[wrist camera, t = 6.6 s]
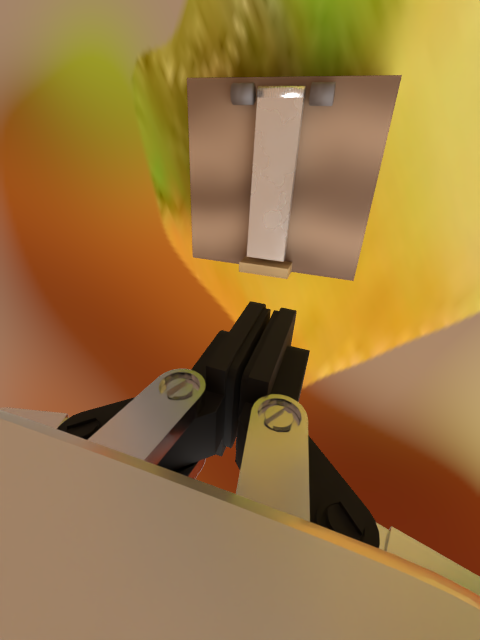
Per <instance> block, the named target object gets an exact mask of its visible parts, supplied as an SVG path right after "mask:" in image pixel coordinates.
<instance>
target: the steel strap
mask: <svg viewBox="0 0 480 640" xmlns="http://www.w3.org/2000/svg"><path fill="white" fill-rule="evenodd" d="M305 94H306V86H258V90H257V109H256V124H255V139H254V154H253V169H252V184H251V199H250V214H249V229H248V244H247V257H253V258H260V259H267V260H275V261H282V262H284V260H285V254H286V246H287V238H288V230H289V222H290V214H291V206H292V197H293V189H294V181H295V173H296V165H297V157H298V149H299V141H300V132H301V124H302V116H303V108H304V100H305Z"/></svg>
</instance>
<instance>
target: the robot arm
mask: <svg viewBox="0 0 480 640" xmlns="http://www.w3.org/2000/svg"><path fill="white" fill-rule="evenodd" d="M295 318H296V310H291V309H286V308H281V309H280V311H276V310H274V312H273V314H272V316H271V318H270V309H266V305H265V304H261V303H256V302H251V301H250V302H249V304H248V305H247V307H246V308H245V310H244V311H243V313H242V314H241V316H240V317H239V318H238V320H237V321H236V323H235V324H234V326H233V327H232V329H231V330H230V332H227V331H223V330H222V331H220V332H219V333H218V334H217V336H216V337H215V338H214V340H213V341H212V342H211V344H210V345H209V346H208V348H207V349H206V350H205V352H204V353H203V355H202V356H201V357H200V359H199V360H198V361H197V363H196V364H195V365H194V367H193V368H192V369H191V370H189V369H176V370H171V371H168V372H166V373H164V374H162V375H161V376H159V377H158V378H157V379H156V380H155V381H154V382H153V383H151V384H150V385H149V386H148V387H147V388H146V389H145V390H143V391H142V392H141V393H140V394H139V395H138V396H137V397H135V398H131V399H127V400H124V401H121V402H117V403H113V404H109V405H106V406H103V407H99V408H95V409H92V410H88V411H84V412H81V413H79V414H76V415H73V416H72V417H70V418H69V417H68V414H65V413H55V412H46V411H36V410H26V409H16V408H0V640H480V577H479V576H477V575H475V574H473V573H472V572H470V571H468V570H467V569H465V568H463V567H461V566H460V565H458V564H456V563H455V562H453V561H451V560H449V559H448V558H446V557H444V556H442V555H441V554H439V553H437V552H435V551H434V550H432V549H430V548H428V547H427V546H425V545H423V544H421V543H420V542H418V541H416V540H414V539H413V538H411V537H409V536H407V535H405V534H404V533H402V532H401V531H399V530H397V529H395V528H393V527H391V528H390V530H387V529H386V528H384V527H382V526H381V525H379V524H377V523H376V521H375V520H374V518H373V516H372V515H371V513H370V512H369V510H368V509H367V508H366V506H365V505H364V504H363V503H362V501H361V500H360V499H359V498H358V496H357V495H356V494H355V493H354V491H353V490H352V489H351V488H350V486H349V485H348V484H347V483H346V481H345V480H344V479H343V478H342V477H341V475H340V474H339V473H338V471H337V470H336V469H335V468H334V467H333V465H332V464H331V463H330V462H329V461H328V459H327V458H326V457H325V455H324V454H323V453H322V452H321V450H320V449H319V448H318V447H317V445H316V444H315V443H314V442H313V441H312V439H311V438H310V437H309V435H308V418H307V413H306V411H305V410H304V408H303V406H302V405H300V403H298V401H299V397H300V393H301V389H302V384H303V380H304V375H305V370H306V366H307V361H308V356H309V352H310V351H309V350H305V349H300V348H296V347H292V346H291V341H292V335H293V330H294V324H295ZM236 437H237V439H236ZM235 439H236V460H235V462H236V463H237V465H238V467H239V469H240V475H239V480H238V486H237V491H236V494H234V493H231V492H228V491H226V490H223V489H220V488H217V487H215V486H212V485H209V484H206V483H204V482H201V481H198V480H195V478H196V477H197V475H198V474H199V472H200V471H201V469H202V468H203V465H204V463H205V458H208V457H210V456H213V455H215V454H217V455H219V456H222V455H223V452H224V450H225V448H226V446H227V447H230V448H231V447H232V446H233V444H234V441H235Z"/></svg>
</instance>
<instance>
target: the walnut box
mask: <svg viewBox="0 0 480 640" xmlns="http://www.w3.org/2000/svg"><path fill="white" fill-rule="evenodd" d="M401 76H402V75H387V76H307V77H227V78H187V92H188V122H189V153H190V183H191V214H192V244H193V257H195V258H202V259H209V260H216V261H222V262H229V263H236V264H239V272H245V273H252V274H258V275H265V276H271V277H278V278H285V279H287V278H288V276H289V275H290V273H291V272H297V273H304V274H311V275H318V276H324V277H331V278H338V279H345V280H352V281H353V280H354V276H355V272H356V268H357V263H358V259H359V255H360V251H361V246H362V242H363V238H364V234H365V229H366V225H367V221H368V217H369V212H370V208H371V204H372V200H373V195H374V191H375V187H376V183H377V178H378V174H379V170H380V166H381V161H382V157H383V153H384V149H385V144H386V140H387V136H388V132H389V127H390V123H391V119H392V115H393V110H394V106H395V102H396V98H397V93H398V89H399V85H400V81H401ZM258 86H306V94H305V100H304V108H303V116H302V124H301V132H300V141H299V149H298V157H297V165H296V173H295V181H294V189H293V197H292V206H291V214H290V222H289V230H288V238H287V246H286V254H285V260H284V262H282V261H275V260H267V259H260V258H253V257H247V244H248V229H249V214H250V199H251V184H252V169H253V154H254V139H255V124H256V109H257V90H258Z"/></svg>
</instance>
